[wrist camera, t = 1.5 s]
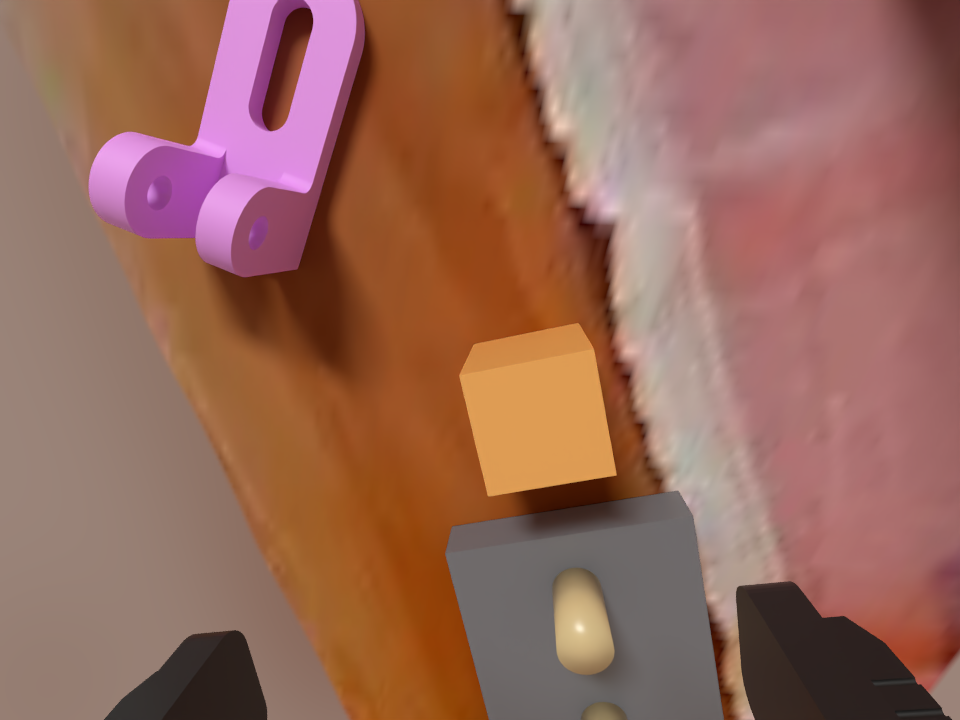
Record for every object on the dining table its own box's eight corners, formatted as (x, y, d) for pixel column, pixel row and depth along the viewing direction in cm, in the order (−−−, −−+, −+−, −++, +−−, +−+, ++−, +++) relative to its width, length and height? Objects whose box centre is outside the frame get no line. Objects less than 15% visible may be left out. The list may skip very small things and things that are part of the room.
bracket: (299, 269, 26) (221, 280, 20) (194, 226, 26) (80, 224, 20) (382, -11, 23) (324, -111, 16) (264, -59, 23) (156, -180, 16)
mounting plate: (678, 490, 27) (724, 568, 21) (712, 713, 30) (762, 840, 24) (452, 526, 29) (431, 608, 22) (505, 735, 32) (500, 859, 25)
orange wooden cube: (578, 322, 26) (593, 349, 20) (596, 422, 27) (616, 475, 21) (474, 344, 26) (459, 375, 20) (496, 440, 27) (488, 496, 22)
